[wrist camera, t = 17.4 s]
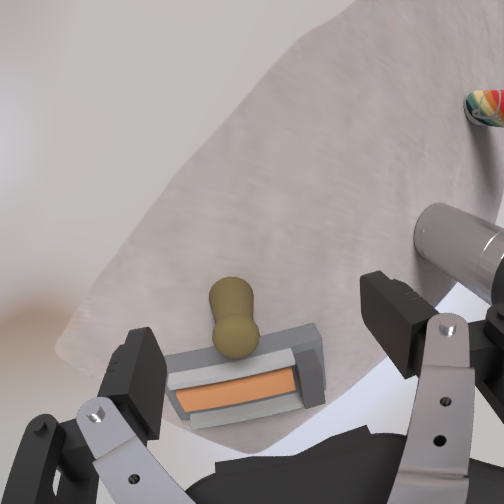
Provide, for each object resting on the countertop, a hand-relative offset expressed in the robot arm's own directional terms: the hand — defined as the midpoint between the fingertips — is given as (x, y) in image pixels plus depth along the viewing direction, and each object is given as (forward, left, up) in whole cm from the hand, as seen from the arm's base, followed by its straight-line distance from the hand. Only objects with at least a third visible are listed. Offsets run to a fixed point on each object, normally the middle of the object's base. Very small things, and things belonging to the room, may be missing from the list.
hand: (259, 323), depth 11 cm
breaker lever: (+5, +27, -24) cm, 36 cm away
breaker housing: (+4, +27, -28) cm, 39 cm away
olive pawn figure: (+3, +14, -28) cm, 32 cm away
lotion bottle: (-41, -7, -28) cm, 50 cm away
